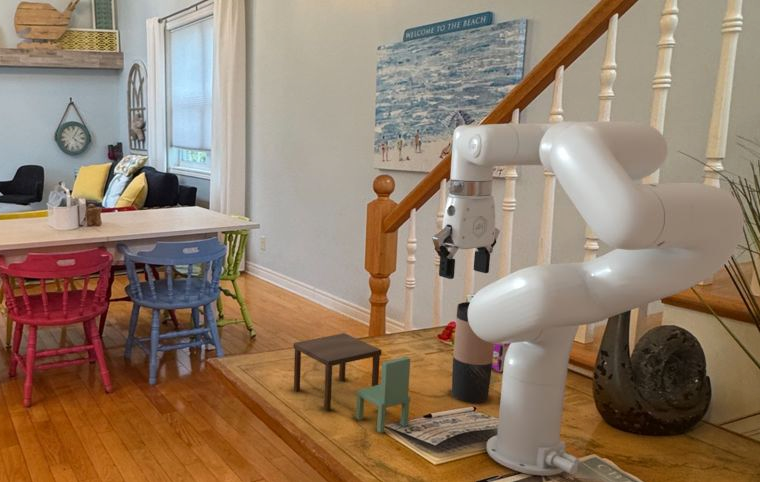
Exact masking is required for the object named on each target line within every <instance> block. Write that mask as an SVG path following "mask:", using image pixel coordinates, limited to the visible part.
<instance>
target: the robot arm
mask: <svg viewBox="0 0 760 482" xmlns="http://www.w3.org/2000/svg"><path fill="white" fill-rule="evenodd" d="M668 147H669V146H668V143H667V140H666V138H665V136H664V135H663V133H661V132H660V131H659V130H658V129H657V128H655V127H654V126H652V125H649V124H647V123H643V122H639V121H632V120H631V121H630V120H629V121H628V120H626V121H624V120H623V121H622V120H619V121H618V120H615V121H614V120H613V121H612V120H605V121H603V120H602V121H601V120H597V121H596V120H595V121H593V120H592V121H591V120H590V121H589V120H584V121H583V120H564V121H563V120H562V121H559V122H557V123H491V124H490V123H489V124H488V123H487V124H461V125H458V126H457V127H456V128H455V129H454V131H453V135H452V149H451V161H450V163H451V164H450V179H449V186H448V191H449V193H448V196H447V199H446V204H445V206H444V207H445V208H444V213H443V217H442V227H441V230H440V231H438V232H437V233H436V234H434V235H433V237H432V240H431V241H432V243H433V246H434V251H435V252H436V254H437V257H439V266H438V267H439V268H438V276H439V277H442V278H444V279H448V280H453V279H454V278H455V268H456V258H454V256H455V255H456V254H457V252H458V251H459V249H460V250H472V249H476V250H475V251H474V256H473V258H474V259H473V270H474V271H475V272H479V273H483V274H488V273H489V272H490V261H491V254H492V253H493V252H494V249H493V248H494V247H495V245H496V244H497V240H498V237H499V235H500V232H501V231H500V229H498V228H497V227H496V205H495V198H494V196H493V195H492V192H493V179H494V171H495V170H494V168H495V167H506V166H507V167H509V166H510V167H511V166H542V167H544V169H545V170H547V172H549V173H551V174H553V175H554V176H555V177H556V179H557V181H558V182H559V184H560V186H561V187H562V189H563V190H564V192H565V194H566V195H567V196H568V198H569V199H570V201H571V202H572V204H573V205H574V207H575V208H576V210H577V211H578V212H579V214H580V215H581V217H582V218H583V220H584V221H585V224H587V226H588V228H589V229H590V231H592V233H593V234H594V235H595V236H596V237H597V238H598V239H599V240H600V241H601V242H603V243H605V244H606V245H607V246H609V247H612V248H614V249H613V250H611V251H609V252H607V253H606V254H603V255H600V256H598V257H596V258H593V259H590V260H589V259H588V260H586V261H581V262H566V263H565V262H564V263H551V264H539V265H538V264H537V265H531V266H528V267H524V268H521V269H518V270H516V271H514V272H512V273H510V274H508V275H506V276H503V277H502V278H500V279H497V280H495V281H494V282H491V283H490V284H488V285H485V286H484V287H482V288H481V289H479V290H478V291H477V292H476V294H475V293H474V294H475V295H474V296H473V298H472V300H471V302H470V304H469V307H468V322H469V325H470V327H471V329H472V330H473V332H474V333H475V334H476V335H477V336H478V337H479V338H481V339H482V340H484V341H486V342H489V343H493V344H506V343H511V344H510V346H509V348H508V350H507V353H506V355H505V360H504V368H503V372H502V377H501V387H500V388H501V390H500V401H499V412H498V422H497V434H496V435H494V436H491V437H490V438H488V439H487V441H486V448H485V449H486V452H487V454H488V456H489V457H490V458H491V459H493V460H494V461H495V462H496V463H498V464H500V465H501V466H503V467H505V468H507V469H510V470H512V471H516V472H519V473H523V474H528V475H531V476H532V475H533V476H544V477H545V476H546V477H547V476H548V477H549V476H554V475H559V474H561V473H563V472H565V473H567V474H569V475H572V476H574V475H575V474H577V472H578V468H579V466H578V465H579V464H580V459H579V458H578V457H577V456H574V455H572V454H569V453H567V451H566V445H567V443H566V441H564V440H561V439H560V438H561V429H562V421H563V420H562V418H563V412H564V411H563V410H564V401H565V392H566V383H567V379H568V370H569V364H570V363H569V362H570V357H571V356H570V355H571V353H572V352H571V351H572V349H573V348H572V347H573V344H574V341H575V339H576V336H577V333H578V330H579V327H580V326H586V325H592V324H596V323H599V322H602V321H605V320H608V319H609V318H612V317H616V316H618V315H622V314H623V313H626V312H629V311H632V310H636V309H638V308H641V307H644V306H646V305H649V304H651V303H654V302H656V301H660V300H663V299H666V298H668V297H671V296H674V295H677V294H679V293H682V292H684V291H687V290H688V289H690V288H693V287H695V286H697V285H699V284H700V283H703V282H705V281H706V280H707V279H709V278H711V277H712V276H713V275H715V274H716V273H718V271H720V270H721V269H722V268H723V267H724V266H725V265H726V264H727V263H728V261H730V259H731V257H733V255H734V253H735V252H736V250H737V248H738V245H739V243H740V241H741V238H742V234H743V232H744V231H743V229H744V213H743V212H744V211H743V209H742V205H741V204H740V203H739V201H738V200H737V198H735V196H734V195H732V194H731V193H730V192H729V191H726V190H725V189H723V188H720V187H718V186H715V185H711V184H706V183H700V182H656V183H635V181H639V180H642V179H645V178H648V177H649V176H651V175H653V174H654V173H656V172H657V171H658V170H659V169H660V168H661V167H662V166H663V164H664V163H665V161H666V159H667V156H668V151H669V150H668ZM449 248H450V249H449ZM448 249H449V250H448Z"/></svg>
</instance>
